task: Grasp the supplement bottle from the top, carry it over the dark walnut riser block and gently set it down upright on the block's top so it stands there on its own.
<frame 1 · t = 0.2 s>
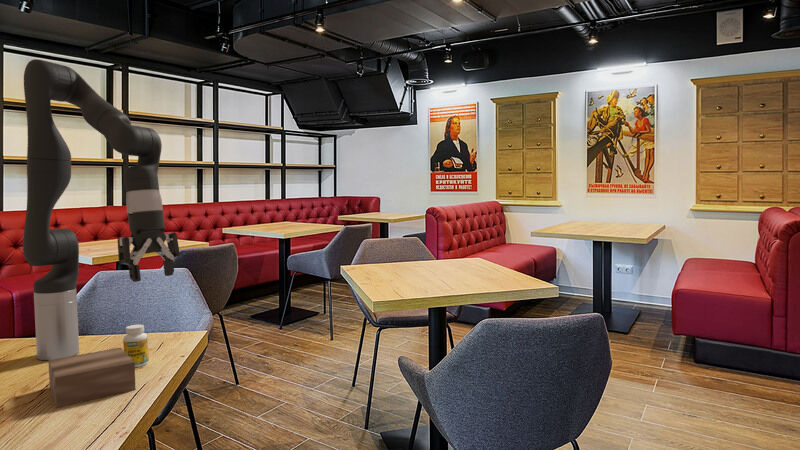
hand: (153, 278, 118), 22 cm above the table, tool pointing down, fingers open, 8 cm apart
walnut riser: (92, 388, 108), on the table
supplement bottle: (136, 365, 124), on the table
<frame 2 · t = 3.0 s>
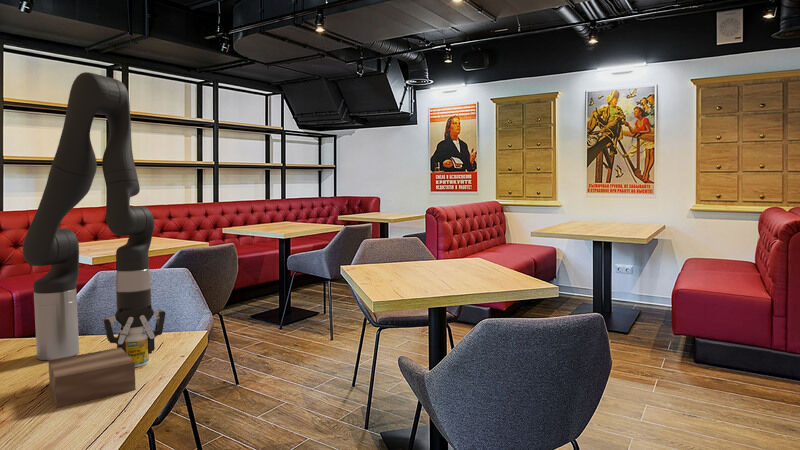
hand: (136, 355, 124), 2 cm above the table, tool pointing down, fingers closed on supplement bottle, 5 cm apart
supplement bottle: (136, 365, 124), on the table, touching gripper
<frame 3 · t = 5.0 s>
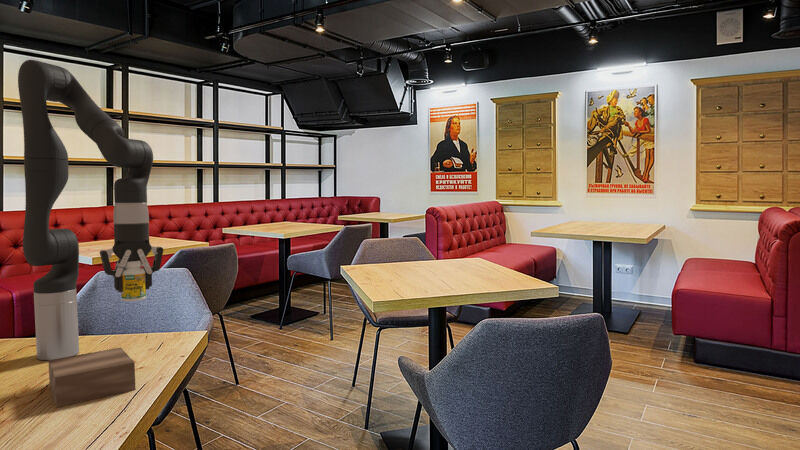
hand: (133, 290, 123), 19 cm above the table, tool pointing down, fingers closed on supplement bottle, 5 cm apart
supplement bottle: (133, 300, 123), point 16 cm above the table, touching gripper
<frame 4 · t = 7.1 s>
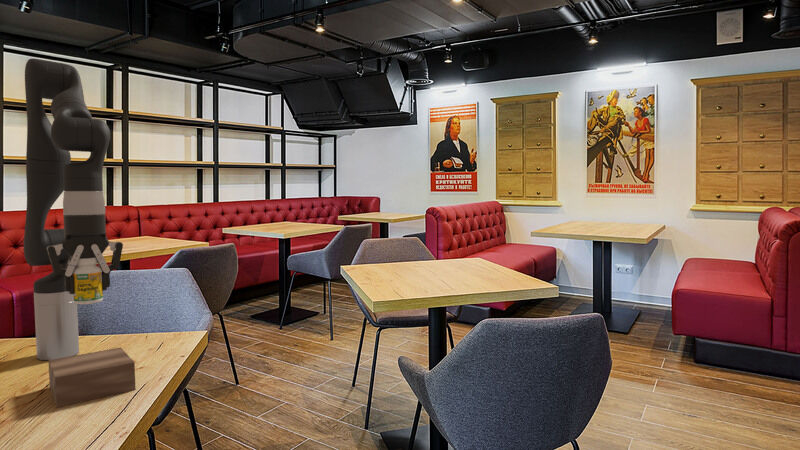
hand: (87, 291, 107), 21 cm above the table, tool pointing down, fingers closed on supplement bottle, 5 cm apart
supplement bottle: (88, 303, 107), point 19 cm above the table, touching gripper
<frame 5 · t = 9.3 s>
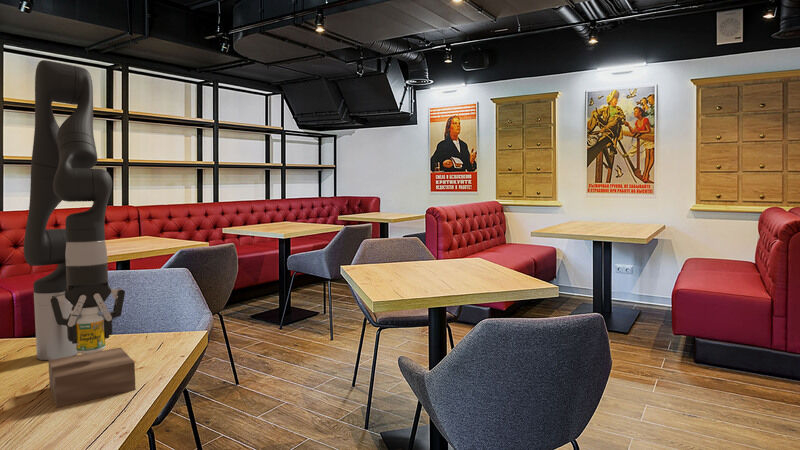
hand: (90, 339, 108), 11 cm above the table, tool pointing down, fingers closed on supplement bottle, 5 cm apart
supplement bottle: (91, 351, 108), point 8 cm above the table, touching gripper
when the fingers open (9 cm above the table, at t = 11.2 s): supplement bottle stays where it is, resting on walnut riser.
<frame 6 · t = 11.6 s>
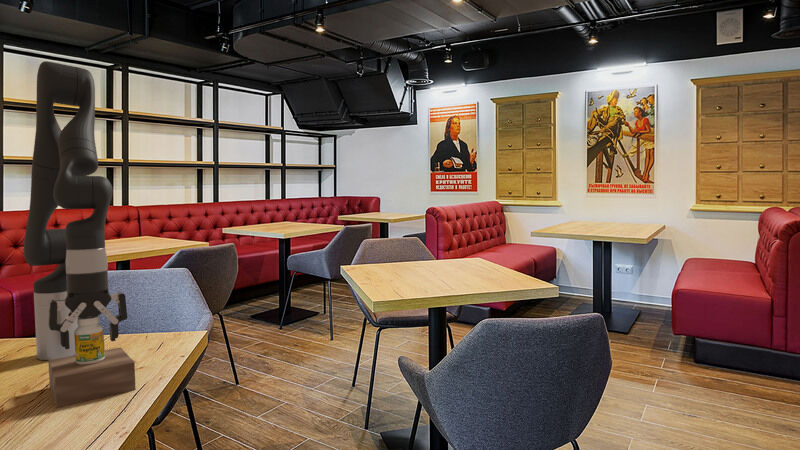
hand: (90, 344, 108), 10 cm above the table, tool pointing down, fingers open, 8 cm apart
supplement bottle: (90, 362, 108), point 6 cm above the table, touching walnut riser
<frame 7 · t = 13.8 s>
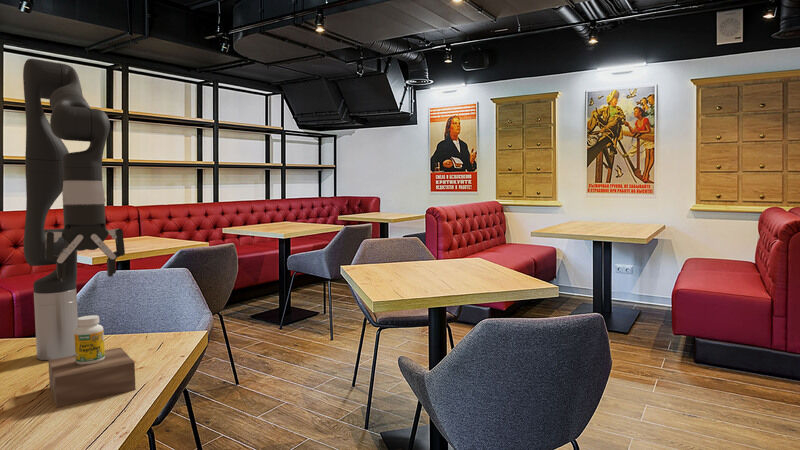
hand: (87, 278, 107), 24 cm above the table, tool pointing down, fingers open, 8 cm apart
nothing on the table moved.
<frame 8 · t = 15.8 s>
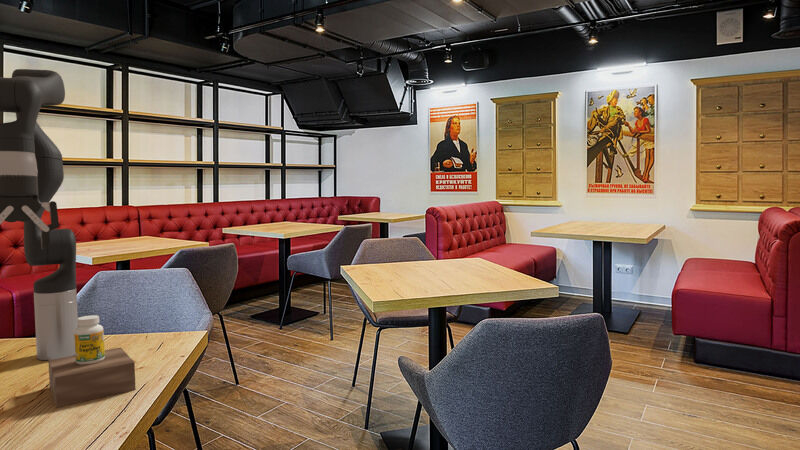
hand: (19, 250, 107), 30 cm above the table, tool pointing down, fingers open, 8 cm apart
nothing on the table moved.
at the end: supplement bottle inside the target area on the walnut riser (0.1 cm from its centre), point 5.8 cm above the walnut riser's base; supplement bottle tilted 0°; the gripper is holding nothing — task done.
